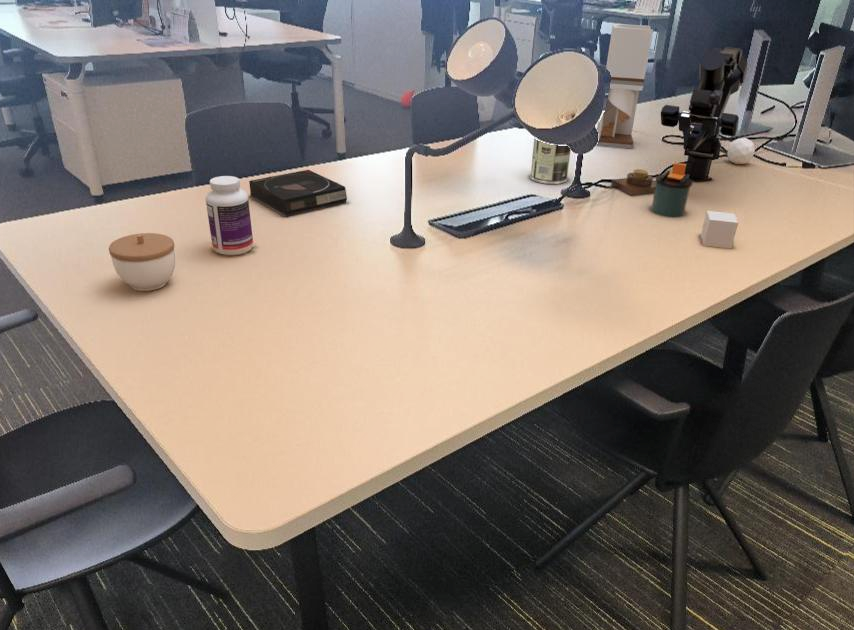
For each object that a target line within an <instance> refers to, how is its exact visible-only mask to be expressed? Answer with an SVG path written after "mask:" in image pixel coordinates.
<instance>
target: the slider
mask: <svg viewBox="0 0 854 630" xmlns="http://www.w3.org/2000/svg"><path fill="white" fill-rule="evenodd" d="M685 168H686V163H681V162H674V163H673V166H672V170H671V171H670V174H669V175H668V176H667V178H670V179H676V180H682V179H683V178H684V176H685V174H684V173H685Z"/></svg>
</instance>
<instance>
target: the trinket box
mask: <svg viewBox="0 0 854 630" xmlns="http://www.w3.org/2000/svg"><path fill="white" fill-rule="evenodd" d="M108 252H109V255H110V258H111V262H112V265H113V268H114V270H115V273H116V274H117V276H118V277H119V279H121V281H123V283H125V284H126V285H128V286H130V287H131V288H132V290H136V291H139V292H149V291H155V290H158V289H161V288H163V287H165V286H166V285H167V283H168V281H169V280H170V279H171V278H172V276H173V274H174V272H175V269H176V251H175V241H174V240H173V238H171V237H170V236H168V235H167V234H161V233H154V232H146V233H145V232H143V233H133V234H129V235H125V236H121V237H120V238H117V239H115V240H113V241H112V242H111V243H110V244H109V245H108Z"/></svg>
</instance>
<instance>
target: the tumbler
mask: <svg viewBox="0 0 854 630" xmlns="http://www.w3.org/2000/svg"><path fill="white" fill-rule="evenodd" d="M670 173H671V171H670V170H667V171H666V172H665V173H664V174H659V175H657V176H656V177H655V181H656V182H657V183H656V188H655V192H654V193H653V198H652V202H651V207H650V210H651V211H652V213H654V214H656V215H659V216H663V217H668V218H669V217H670V218H671V217H672V218H675V217H682V216H684V215H685V211H686V208H687V203H688V198H689V194H690V189H691V187H692V186H693V181H692V180H690V179H688V178H689V174H687V175H686V176H685V177H684V178H683V179H682V180H676V179H670V178H667V176H668V175H669V174H670Z"/></svg>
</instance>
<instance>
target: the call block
mask: <svg viewBox="0 0 854 630" xmlns="http://www.w3.org/2000/svg"><path fill="white" fill-rule="evenodd" d="M633 173H634V171H633V172H629V173H627V174H626V177H623V178H614V179H611V183H610V186H611V187H613V188H615V189H617V190H619V191H621V192H623V193H625V194H627V195H629V196H631V197H633V196H642V195H649V194H650V195H651V194H654V192H655V188H656V183H657V182H656V180H654V179H653V178H654V177H653V176H652V175H650V174H647V178H644V179H643V178H636V177H633Z"/></svg>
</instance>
